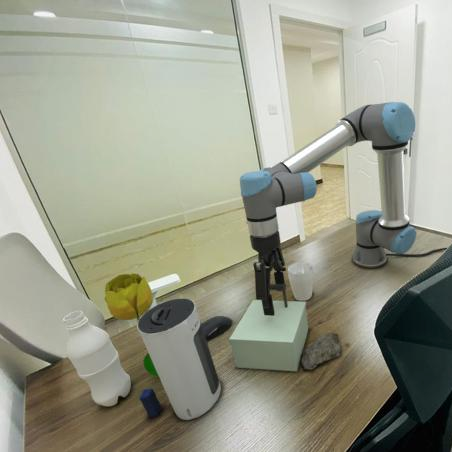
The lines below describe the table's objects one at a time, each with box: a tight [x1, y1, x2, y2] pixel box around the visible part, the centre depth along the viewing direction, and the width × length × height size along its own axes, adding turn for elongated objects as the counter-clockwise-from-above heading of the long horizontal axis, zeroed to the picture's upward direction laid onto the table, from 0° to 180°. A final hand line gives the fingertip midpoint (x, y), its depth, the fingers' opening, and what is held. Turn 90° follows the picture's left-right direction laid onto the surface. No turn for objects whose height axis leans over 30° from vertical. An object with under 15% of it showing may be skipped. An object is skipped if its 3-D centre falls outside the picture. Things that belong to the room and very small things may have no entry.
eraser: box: [139, 388, 162, 418], centre depth 58 cm, size 2×2×7 cm
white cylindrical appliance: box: [136, 297, 222, 421], centre depth 57 cm, size 11×10×26 cm
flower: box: [104, 273, 159, 377], centre depth 63 cm, size 9×8×30 cm
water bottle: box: [62, 310, 132, 407], centre depth 59 cm, size 7×7×25 cm
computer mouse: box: [201, 315, 233, 342], centre depth 78 cm, size 12×17×4 cm
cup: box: [287, 261, 314, 302], centre depth 95 cm, size 9×9×12 cm
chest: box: [229, 306, 309, 372], centre depth 74 cm, size 15×17×9 cm
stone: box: [300, 332, 342, 371], centre depth 72 cm, size 14×8×3 cm, turn 116°
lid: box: [228, 283, 307, 345], centre depth 70 cm, size 15×17×9 cm
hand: (275, 301), depth 76 cm, fingers open, 10 cm apart
